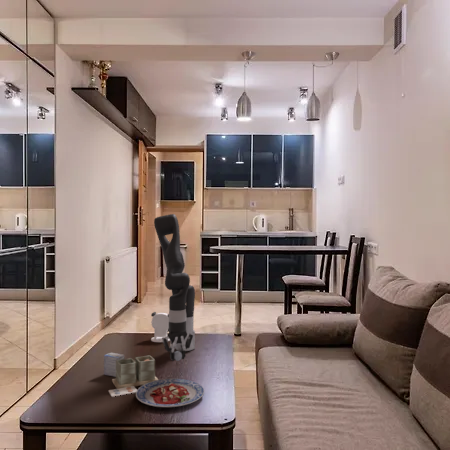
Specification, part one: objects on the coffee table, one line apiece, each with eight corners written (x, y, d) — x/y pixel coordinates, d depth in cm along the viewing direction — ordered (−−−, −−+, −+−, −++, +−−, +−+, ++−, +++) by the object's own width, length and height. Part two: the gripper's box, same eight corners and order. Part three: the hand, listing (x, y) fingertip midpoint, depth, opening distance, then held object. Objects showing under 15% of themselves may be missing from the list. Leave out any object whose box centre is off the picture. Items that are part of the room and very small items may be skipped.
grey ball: (180, 358, 182) (180, 349, 182) (183, 361, 178) (183, 351, 178) (171, 359, 180) (171, 350, 180) (175, 362, 176) (175, 353, 176)
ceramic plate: (124, 393, 161) (124, 386, 161) (182, 379, 177) (182, 372, 176) (155, 419, 140) (155, 410, 140) (217, 400, 156) (217, 392, 156)
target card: (133, 386, 167) (133, 385, 167) (137, 392, 162) (137, 391, 162) (108, 391, 163) (108, 390, 163) (111, 397, 157) (111, 395, 157)
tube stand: (152, 374, 180) (152, 354, 180) (158, 382, 172) (158, 360, 172) (112, 381, 173) (112, 359, 173) (117, 389, 165) (117, 366, 165)
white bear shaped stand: (174, 337, 240) (174, 311, 240) (169, 342, 229) (170, 315, 229) (153, 336, 241) (154, 310, 241) (148, 341, 230) (148, 314, 230)
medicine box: (124, 374, 181) (125, 354, 181) (118, 378, 177) (118, 357, 177) (110, 371, 184) (110, 352, 184) (103, 375, 180) (103, 354, 180)
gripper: (189, 315, 185) (189, 354, 186) (158, 319, 178) (158, 359, 179) (196, 319, 179) (196, 359, 179) (164, 323, 172) (164, 365, 172)
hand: (177, 359), depth 179 cm, fingers closed on grey ball, 4 cm apart
